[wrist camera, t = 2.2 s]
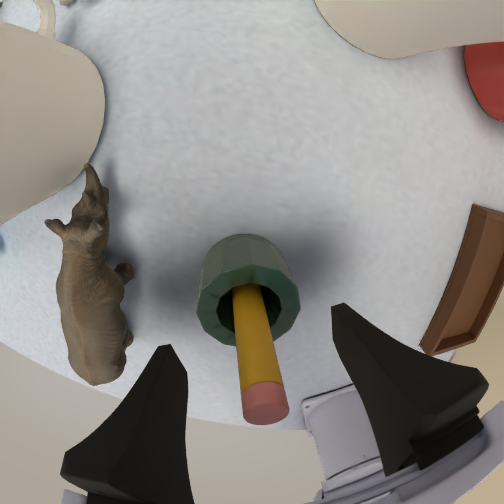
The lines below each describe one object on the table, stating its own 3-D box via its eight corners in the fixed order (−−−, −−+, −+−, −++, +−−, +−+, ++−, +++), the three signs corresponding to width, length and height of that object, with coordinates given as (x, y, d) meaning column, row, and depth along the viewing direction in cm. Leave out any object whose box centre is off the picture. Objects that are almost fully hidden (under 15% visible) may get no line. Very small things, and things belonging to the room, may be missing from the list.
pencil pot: (289, 295, 18) (304, 334, 15) (215, 313, 18) (215, 355, 15) (276, 224, 16) (292, 253, 12) (191, 245, 16) (182, 281, 12)
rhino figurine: (148, 159, 13) (104, 180, 8) (140, 346, 19) (124, 409, 13) (84, 153, 13) (21, 173, 7) (93, 336, 18) (68, 393, 13)
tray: (466, 332, 24) (475, 341, 23) (418, 345, 23) (428, 357, 21) (512, 216, 18) (525, 222, 16) (472, 204, 17) (488, 211, 15)
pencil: (259, 285, 17) (292, 420, 8) (234, 291, 17) (249, 428, 8) (254, 262, 16) (286, 399, 8) (227, 269, 16) (238, 409, 8)
